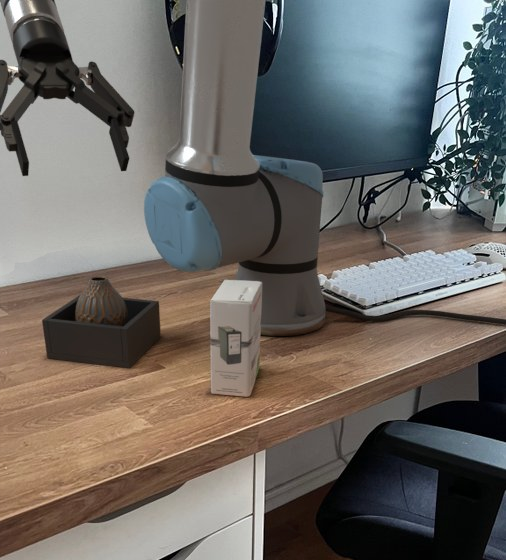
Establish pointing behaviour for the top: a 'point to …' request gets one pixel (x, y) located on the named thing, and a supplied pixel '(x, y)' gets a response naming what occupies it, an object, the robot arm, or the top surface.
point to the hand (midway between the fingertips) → (77, 167)
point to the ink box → (235, 337)
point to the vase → (101, 304)
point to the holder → (102, 335)
